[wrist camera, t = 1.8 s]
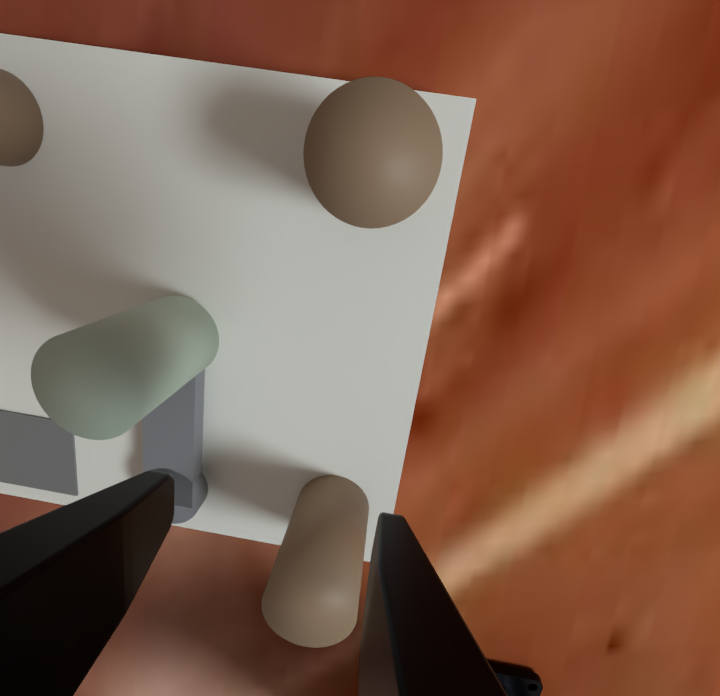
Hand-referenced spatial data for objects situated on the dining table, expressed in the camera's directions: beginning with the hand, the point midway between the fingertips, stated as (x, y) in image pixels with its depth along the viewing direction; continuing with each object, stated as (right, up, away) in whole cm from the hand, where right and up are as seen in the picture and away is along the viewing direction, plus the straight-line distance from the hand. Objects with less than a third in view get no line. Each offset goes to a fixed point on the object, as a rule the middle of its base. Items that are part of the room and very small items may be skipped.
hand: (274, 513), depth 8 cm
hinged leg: (-6, 0, +9) cm, 11 cm away
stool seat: (-5, +4, +11) cm, 13 cm away
